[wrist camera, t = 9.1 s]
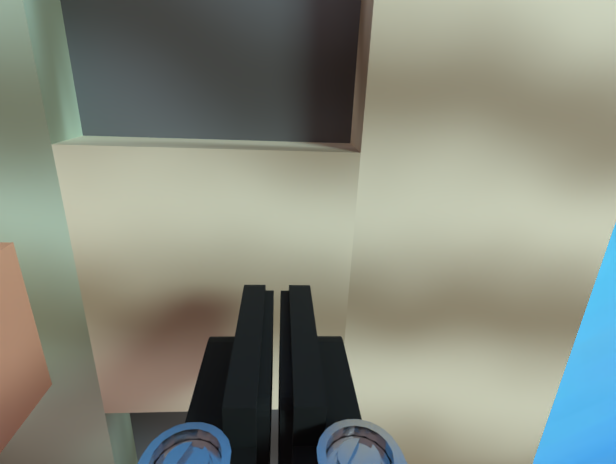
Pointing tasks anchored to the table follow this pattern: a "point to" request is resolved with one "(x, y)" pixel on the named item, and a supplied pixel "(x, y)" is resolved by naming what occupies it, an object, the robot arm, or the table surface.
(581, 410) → the table surface
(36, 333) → the block
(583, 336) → the table surface
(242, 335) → the robot arm
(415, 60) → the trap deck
